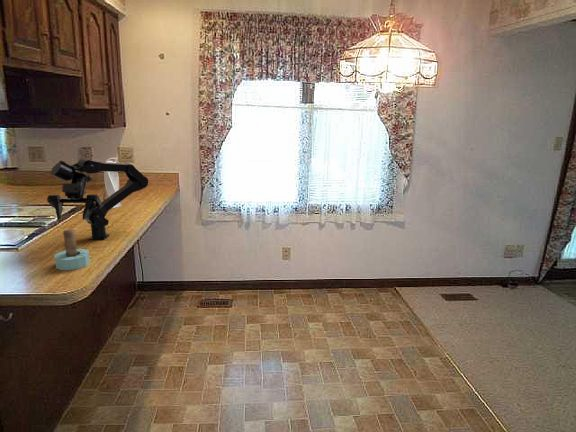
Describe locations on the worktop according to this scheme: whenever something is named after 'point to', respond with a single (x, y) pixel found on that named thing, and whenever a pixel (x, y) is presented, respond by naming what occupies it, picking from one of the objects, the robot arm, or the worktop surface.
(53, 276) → the worktop surface
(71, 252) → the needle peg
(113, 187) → the skyscraper
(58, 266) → the bead
